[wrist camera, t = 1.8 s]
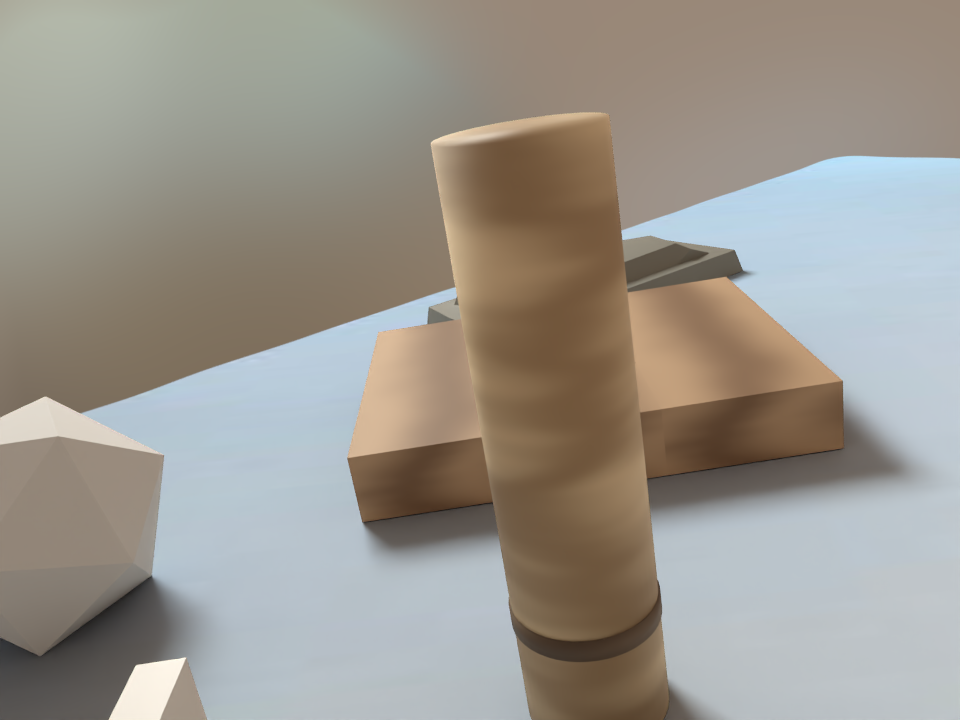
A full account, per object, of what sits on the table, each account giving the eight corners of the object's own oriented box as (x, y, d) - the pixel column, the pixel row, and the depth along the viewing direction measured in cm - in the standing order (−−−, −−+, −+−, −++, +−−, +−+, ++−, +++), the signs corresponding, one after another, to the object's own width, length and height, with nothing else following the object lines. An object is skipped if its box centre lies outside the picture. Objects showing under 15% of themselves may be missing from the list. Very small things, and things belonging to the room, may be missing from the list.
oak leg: (532, 763, 23) (425, 155, 18) (521, 660, 27) (430, 134, 22) (687, 741, 23) (627, 122, 18) (653, 641, 27) (596, 106, 22)
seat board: (362, 521, 37) (347, 457, 36) (388, 380, 52) (378, 332, 51) (843, 448, 36) (842, 380, 35) (729, 326, 51) (725, 276, 50)
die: (112, 539, 40) (-97, 431, 35) (237, 449, 37) (26, 315, 32) (58, 711, 34) (-206, 611, 29) (202, 623, 31) (-67, 491, 26)
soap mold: (746, 279, 61) (743, 229, 60) (507, 370, 52) (499, 314, 51) (644, 259, 69) (640, 216, 68) (424, 336, 60) (415, 286, 59)
